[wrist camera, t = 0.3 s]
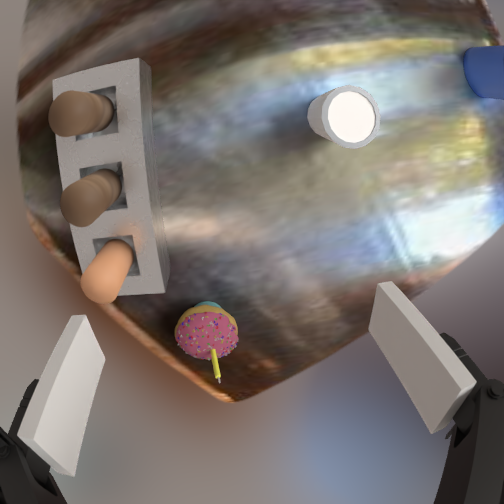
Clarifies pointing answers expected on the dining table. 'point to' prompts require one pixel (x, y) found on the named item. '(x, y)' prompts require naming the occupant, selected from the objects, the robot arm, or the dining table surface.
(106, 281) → the plug terracotta
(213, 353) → the cupcake
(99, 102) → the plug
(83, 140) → the jig
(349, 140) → the white cup
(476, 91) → the water bottle
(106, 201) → the plug mid
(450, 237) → the dining table surface
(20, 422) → the robot arm
